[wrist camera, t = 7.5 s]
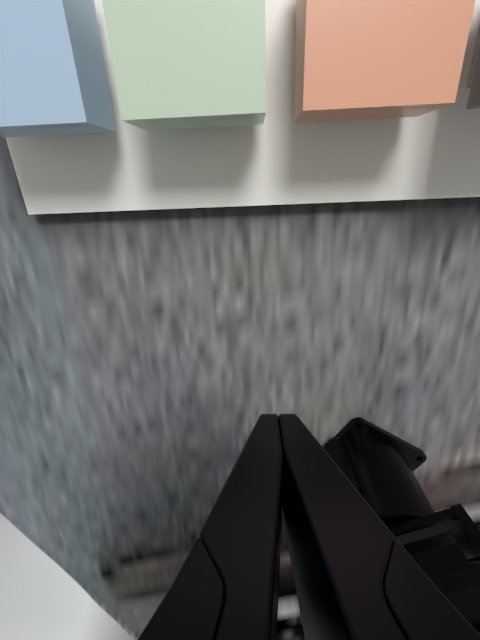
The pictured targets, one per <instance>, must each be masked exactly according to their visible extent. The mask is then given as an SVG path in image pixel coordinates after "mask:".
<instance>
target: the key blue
mask: <svg viewBox="0 0 480 640" xmlns="http://www.w3.org/2000/svg"><path fill="white" fill-rule="evenodd" d="M106 132H116V126H115V120H114V114H113V109H112V103H111V97H110V91H109V85H108V79H107V74H106V68H105V62H104V56H103V50H102V45H101V39H100V33H99V27H98V21H97V15H96V10H95V4H94V0H0V137H2V138H9V137H28V136H47V135H67V134H86V133H106Z"/></svg>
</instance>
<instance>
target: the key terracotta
mask: <svg viewBox="0 0 480 640" xmlns="http://www.w3.org/2000/svg"><path fill="white" fill-rule="evenodd" d="M474 4H475V0H297V2H296V42H295V83H294V123H303V122H322V121H342V120H361V119H381V118H400V117H417V116H420V115H423V114H425V113H428V112H431V111H434V110H436V109H439V108H442V107H445V106H447V105H450V104H453V103H455V100H456V95H457V90H458V85H459V80H460V75H461V70H462V65H463V60H464V55H465V50H466V45H467V40H468V34H469V29H470V24H471V19H472V14H473V9H474Z"/></svg>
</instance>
